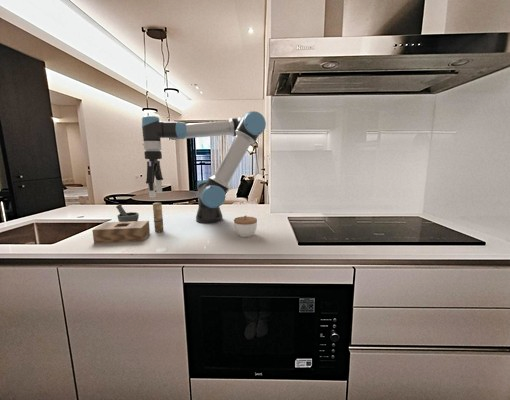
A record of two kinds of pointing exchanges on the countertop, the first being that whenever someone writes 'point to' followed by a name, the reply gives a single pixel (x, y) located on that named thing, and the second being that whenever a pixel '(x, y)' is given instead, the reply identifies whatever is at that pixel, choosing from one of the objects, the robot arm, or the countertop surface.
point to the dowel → (158, 217)
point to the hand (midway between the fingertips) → (156, 195)
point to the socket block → (121, 231)
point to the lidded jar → (245, 226)
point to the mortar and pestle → (126, 215)
